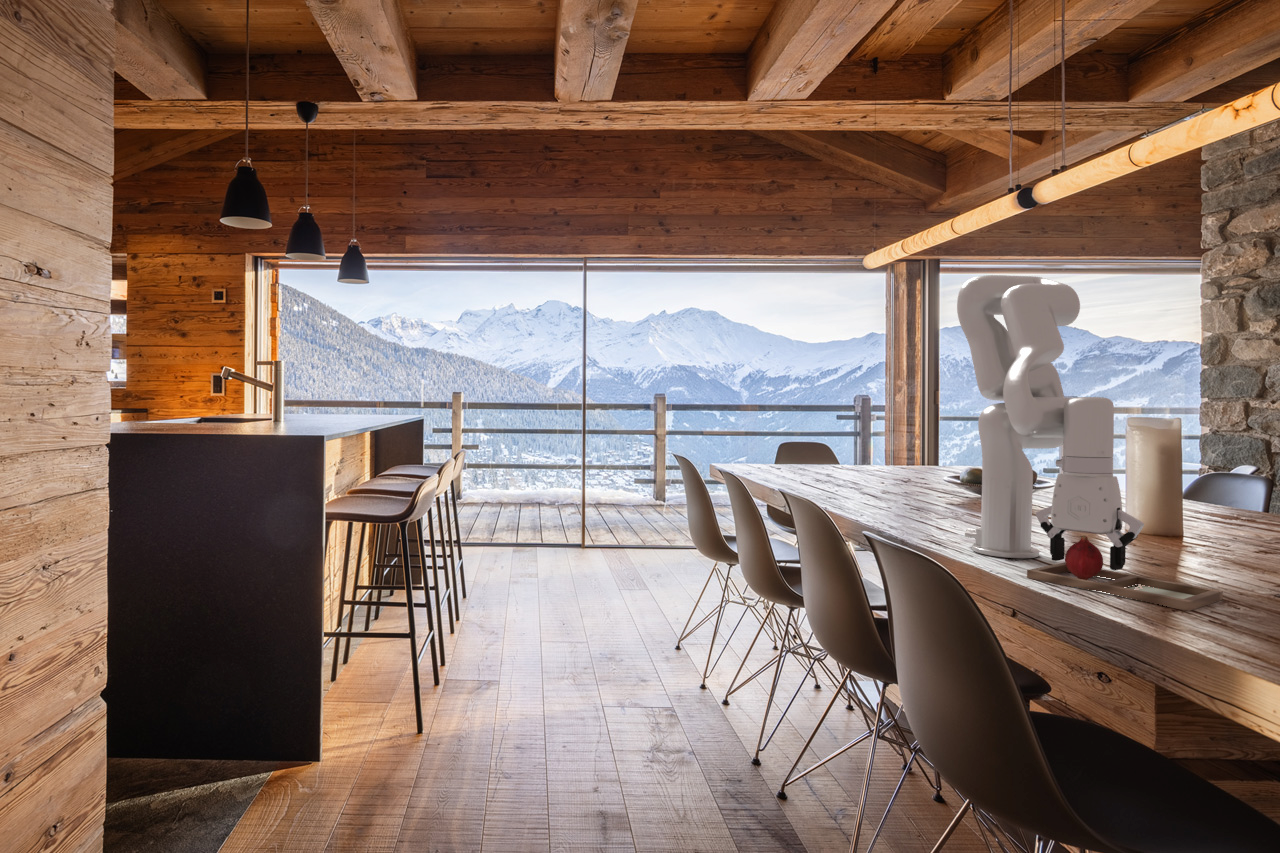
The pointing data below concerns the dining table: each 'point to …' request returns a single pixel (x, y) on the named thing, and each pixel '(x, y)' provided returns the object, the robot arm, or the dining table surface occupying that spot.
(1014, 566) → the dining table surface
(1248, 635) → the dining table surface
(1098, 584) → the rail frame
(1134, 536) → the robot arm
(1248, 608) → the dining table surface
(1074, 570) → the onion
